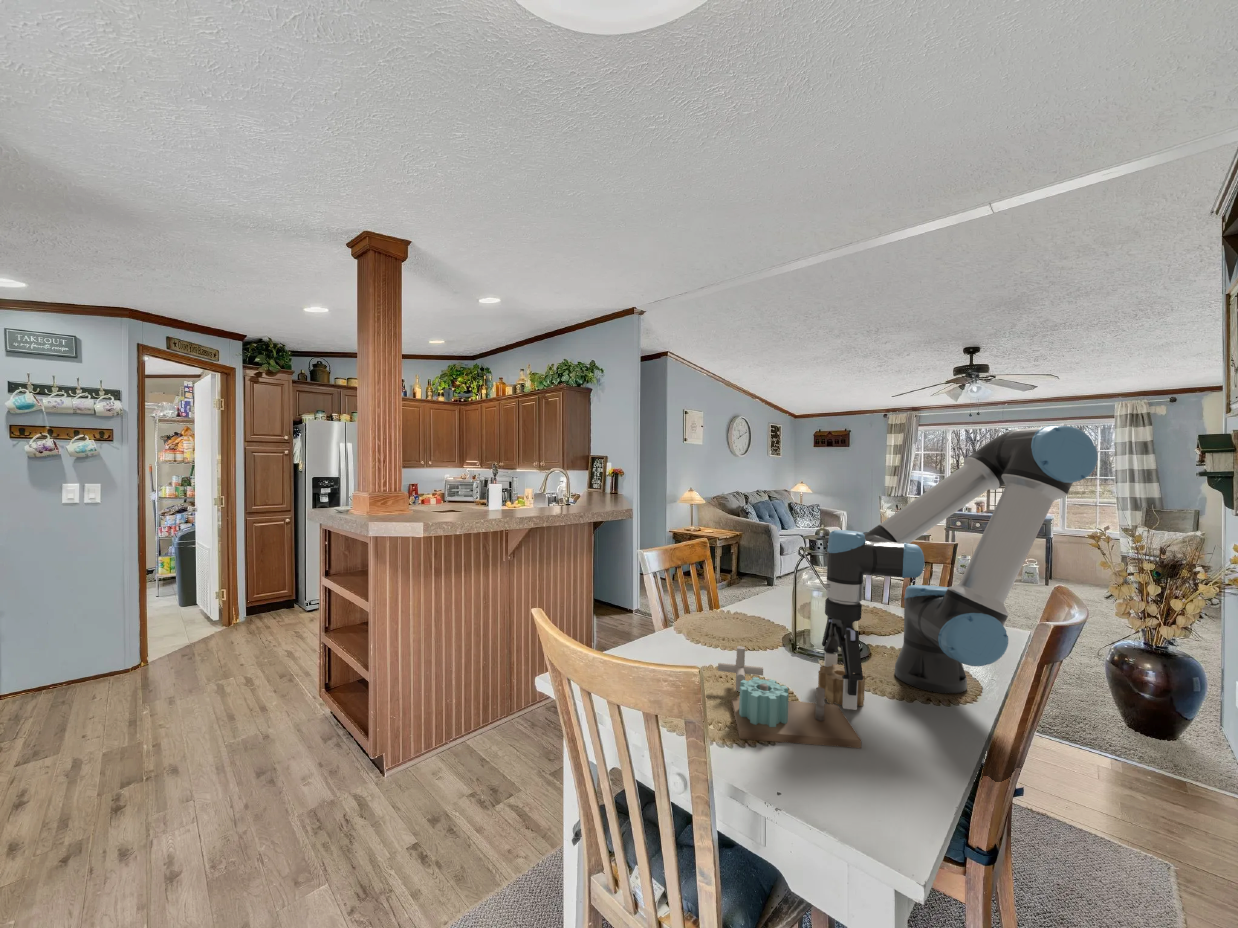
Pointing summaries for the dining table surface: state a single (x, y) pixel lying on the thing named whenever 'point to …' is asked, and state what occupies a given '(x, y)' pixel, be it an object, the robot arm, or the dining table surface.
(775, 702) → the teal gear
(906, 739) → the dining table surface
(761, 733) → the gear board
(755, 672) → the pipe connector
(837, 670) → the oak gear
